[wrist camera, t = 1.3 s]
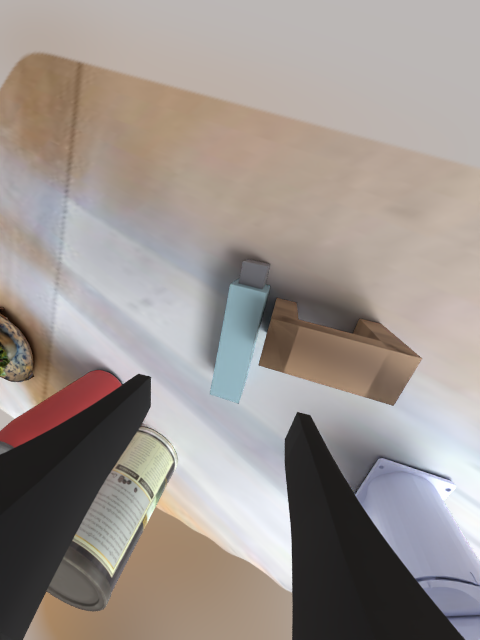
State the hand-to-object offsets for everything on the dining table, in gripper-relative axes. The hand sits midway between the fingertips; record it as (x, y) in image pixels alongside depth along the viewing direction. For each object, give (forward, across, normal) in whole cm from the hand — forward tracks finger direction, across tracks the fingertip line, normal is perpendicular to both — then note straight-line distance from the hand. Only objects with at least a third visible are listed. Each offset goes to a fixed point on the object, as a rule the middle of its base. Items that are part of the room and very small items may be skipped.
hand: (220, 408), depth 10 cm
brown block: (+12, -8, 0) cm, 15 cm away
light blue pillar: (+13, 0, +3) cm, 13 cm away
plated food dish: (+16, +34, +16) cm, 41 cm away
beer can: (+14, +17, +18) cm, 28 cm away
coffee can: (+12, +10, +27) cm, 32 cm away
